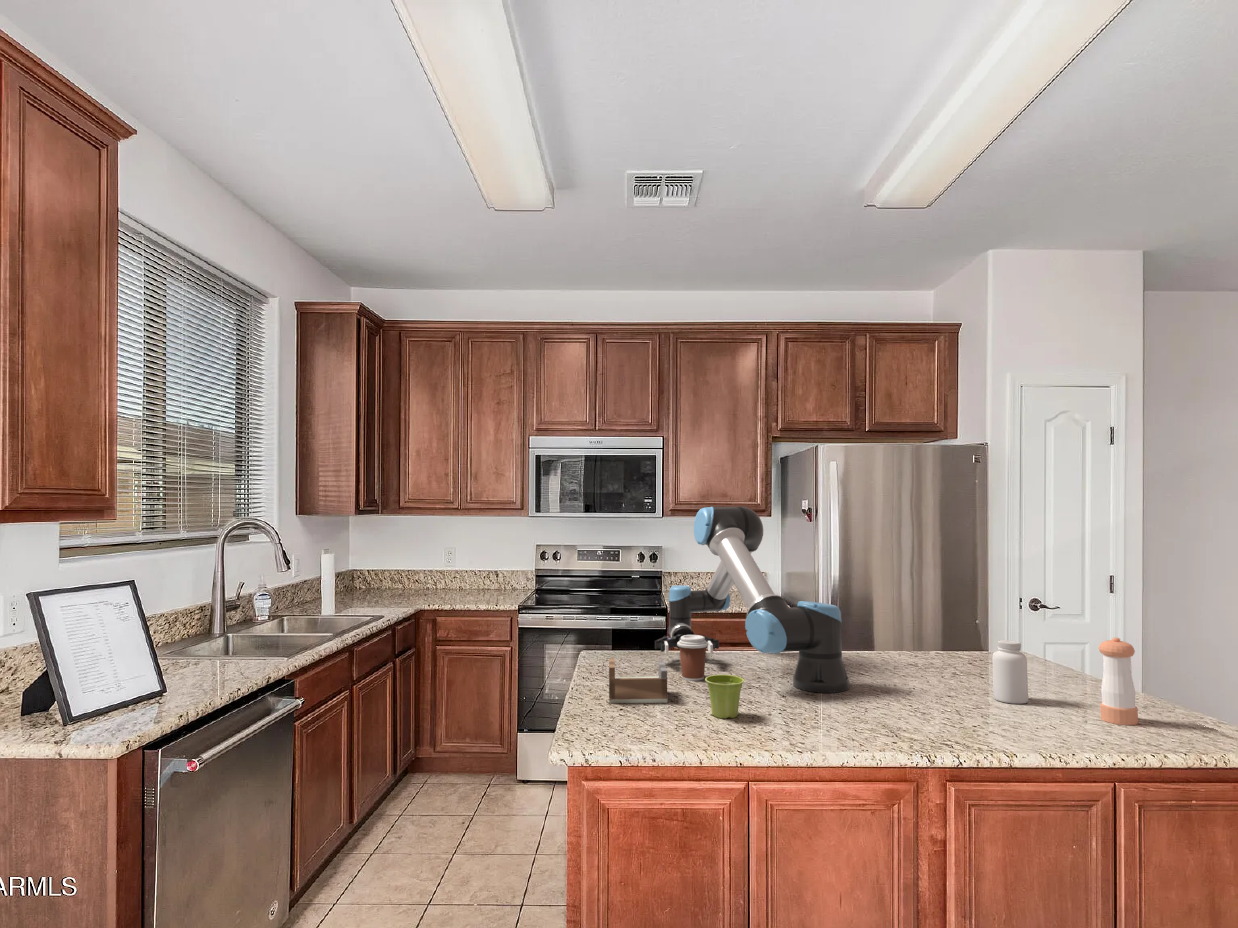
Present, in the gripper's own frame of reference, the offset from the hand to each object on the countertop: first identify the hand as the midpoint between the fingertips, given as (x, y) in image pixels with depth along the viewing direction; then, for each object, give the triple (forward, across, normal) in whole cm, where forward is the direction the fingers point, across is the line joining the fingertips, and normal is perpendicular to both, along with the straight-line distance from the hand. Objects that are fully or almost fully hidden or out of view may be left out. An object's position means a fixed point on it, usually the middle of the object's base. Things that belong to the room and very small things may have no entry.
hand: (689, 649), depth 229 cm
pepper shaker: (+55, -95, -7) cm, 110 cm away
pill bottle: (+36, -79, -7) cm, 87 cm away
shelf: (+23, +17, -6) cm, 29 cm away
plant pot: (+47, -4, -7) cm, 48 cm away
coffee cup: (+9, 0, -7) cm, 11 cm away
